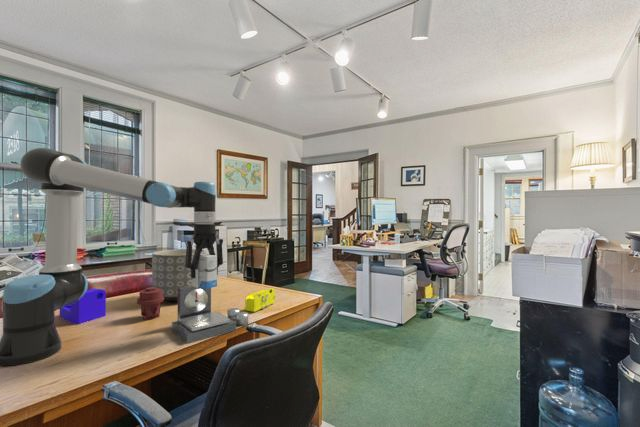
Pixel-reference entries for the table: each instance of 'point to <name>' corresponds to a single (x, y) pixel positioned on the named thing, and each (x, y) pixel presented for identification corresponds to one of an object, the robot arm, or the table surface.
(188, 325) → the scale pan
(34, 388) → the table surface
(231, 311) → the cylinder
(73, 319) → the bracket
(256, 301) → the yellow toy chassis
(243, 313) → the cylinder
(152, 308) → the mechanical component
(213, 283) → the ink box
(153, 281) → the planter
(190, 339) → the base
